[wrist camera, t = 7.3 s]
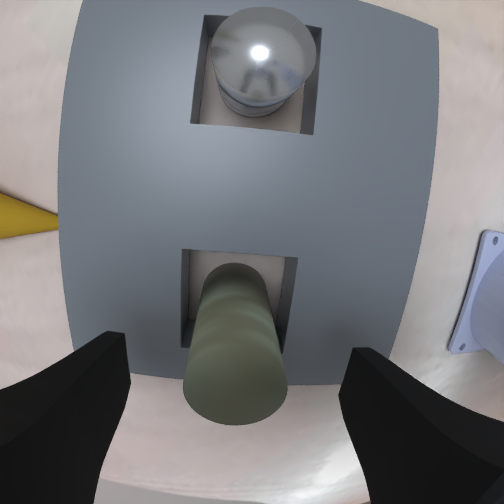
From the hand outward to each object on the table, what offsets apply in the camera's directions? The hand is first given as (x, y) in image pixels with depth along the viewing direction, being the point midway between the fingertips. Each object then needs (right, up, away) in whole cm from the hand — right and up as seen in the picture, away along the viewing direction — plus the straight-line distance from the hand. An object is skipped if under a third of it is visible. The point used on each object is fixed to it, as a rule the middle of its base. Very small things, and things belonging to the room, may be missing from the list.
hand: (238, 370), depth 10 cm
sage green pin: (0, +2, +6) cm, 6 cm away
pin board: (0, +7, +4) cm, 8 cm away
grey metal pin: (0, +11, +3) cm, 11 cm away
